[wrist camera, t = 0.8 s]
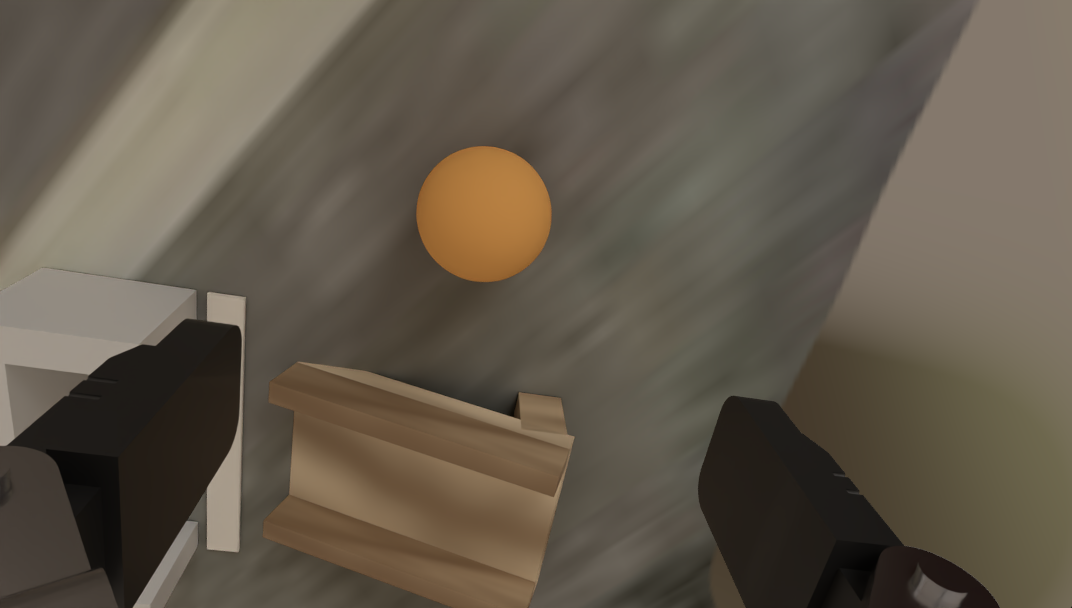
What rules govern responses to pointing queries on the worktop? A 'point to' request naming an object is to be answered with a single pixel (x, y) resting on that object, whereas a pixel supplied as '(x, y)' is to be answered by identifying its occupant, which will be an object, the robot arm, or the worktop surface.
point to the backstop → (84, 359)
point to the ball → (484, 214)
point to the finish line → (228, 477)
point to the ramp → (420, 485)
